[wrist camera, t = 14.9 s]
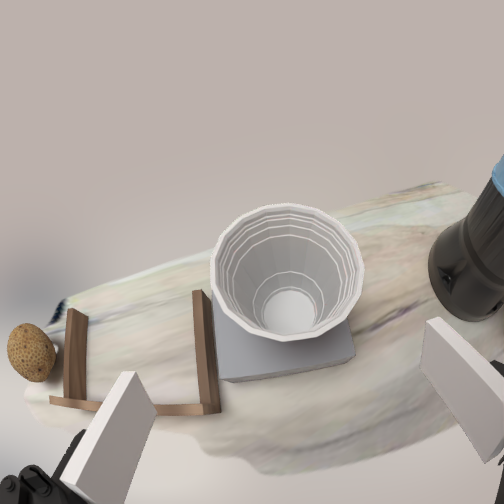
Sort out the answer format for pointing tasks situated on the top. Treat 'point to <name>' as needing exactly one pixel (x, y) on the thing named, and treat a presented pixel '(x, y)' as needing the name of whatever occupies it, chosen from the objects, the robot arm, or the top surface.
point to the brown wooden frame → (208, 405)
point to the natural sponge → (31, 352)
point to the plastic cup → (286, 272)
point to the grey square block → (275, 350)
